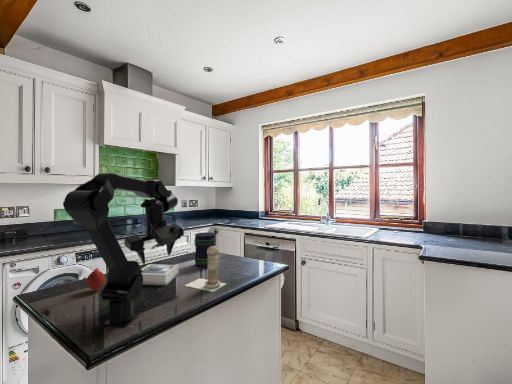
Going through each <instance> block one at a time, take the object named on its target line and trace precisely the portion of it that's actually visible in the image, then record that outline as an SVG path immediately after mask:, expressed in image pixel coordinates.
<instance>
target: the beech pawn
mask: <svg viewBox="0 0 512 384" xmlns="http://www.w3.org/2000/svg"><path fill="white" fill-rule="evenodd" d="M219 250H220V249H219V248H218V247H217V246H216V245H215V246H210V247H209V248H208V249H207V255H208V268H207V280H208V281H207V282H205V287H206V288H208V289H215V288H218V287H220V282H221V281H220V280H219V253H220V251H219Z"/></svg>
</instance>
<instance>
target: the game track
mask: <svg viewBox="0 0 512 384" xmlns="http://www.w3.org/2000/svg"><path fill="white" fill-rule="evenodd" d="M207 281H208V279H206V278H198V279H196V280H193V281H191V282H188V283H186V284H185V285H184V287H188V288H192V289H197V290H201V291H206V292H211V293H214V292H216V291H218V290H219V289H221V288H222V287H223V288H224V286H226V285H227V283H225V282H221V281H220V287H218V288H215V289H208V288H206V287H205V282H207Z"/></svg>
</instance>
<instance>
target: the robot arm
mask: <svg viewBox="0 0 512 384" xmlns="http://www.w3.org/2000/svg"><path fill="white" fill-rule="evenodd" d="M115 190H116V191H121V192H127V193H128V192H130V193H134V194H135V195H136V196H138V197H141V198H145V199H144V200H143V202H142V203H141V204H140V208H144V210H145V211H144V213H145V218H144V219H143V222H144V223H145V230H144V234H145V236H139V235H138V234H134V235H130V236H126V237H125V239H124V246H125V247H126V248H127V249H128V250H130V251H131V252H136V254H137V256H138V257H139V259H140V262H141V263H142V264H143V265H145V264H146V257H145V250H146V248H145V243H147V242H151V241H153V240H154V241H156V243H157V245H158V246H159V247H164V246H166V252H167V256H171V254H172V250H173V249H174V246H175V243H176V242H177V241H178V240H179V239H181V238H182V237H184V235H185V230H184V228H183V227H181V226H179V225H178V224H177V223H173V224H171V225H168V224H167V220H166V219H165V213H167V212H169V211H171V210H172V209H174V208H176V207H177V205H178V203H179V201H178V200H179V199H178V197H177V196H176V195H175V194H173V193H172V190H171V189H169V190H168V189H167V188H166V186H165V185H164V183H163V181H162V180H161V179H138V178H133V177H129V176H124V175H120V174H116V173H114V172H101V173H98V174H96V175H95V176H94V177H92V179H90V180H88V181H86V182H84V183H83V184H80V185H79V186H77V187H76V188H75V189H74V190H71V191H70V192H68V193H67V194H66V196H65V198H64V201H63V202H62V206H63V209H64V211H65V212H66V213H67V215H69V216H70V218H72V220H73V221H74V222H76V223H77V224H79V225H81V226H82V227H83V228H84V229H85V230H86V231H87V233H88V234H89V235H88V236H89V237H90V239H91V240H92V242H93V244H94V246H95V247H96V249H97V251H98V253H99V254H100V256H101V257H100V258H102V260H103V261H104V263H105V265H106V268H107V269H108V270H107V275H106V280H107V282H106V284H104V285H105V286H104V287H103V288H102V290H101V292H100V297H101V300H102V301H109V302H108V319H107V320H106V321H105V322H104V323H103V326H106V327H107V326H108V327H127V326H129V324H131V323H132V322H133V321H134V320H136V318H137V317H139V314H138V313H134V301H135V300H137V299H139V298H140V297H141V292H142V287H143V285H142V284H143V275H142V273H141V272H143V271H142V270H141V269H142V268H141V266H140V264H139V262H138V261H136V260H128V259H127V256H126V255H125V253H124V251H123V248H122V247H121V245H120V243H119V239H117V237H116V235H115V232H114V231H113V229H112V226H111V224H110V222H109V221H108V216H109V214H110V213H109V212H110V207H109V204H110V202H111V201H112V200H113V199H114V196H115Z"/></svg>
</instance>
